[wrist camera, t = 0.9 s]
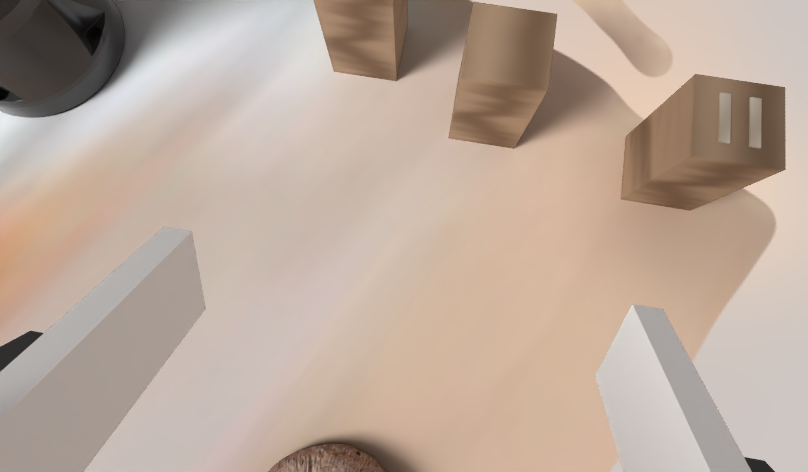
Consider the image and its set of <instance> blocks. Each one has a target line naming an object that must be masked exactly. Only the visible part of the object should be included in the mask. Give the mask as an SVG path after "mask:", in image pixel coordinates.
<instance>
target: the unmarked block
mask: <svg viewBox="0 0 808 472" xmlns="http://www.w3.org/2000/svg"><path fill="white" fill-rule="evenodd" d="M556 21H557V14H553V13H547V12H540V11H533V10H526V9H519V8H512V7H505V6H498V5H492V4H485V3H478V2H474V3H473V8H472V13H471V18H470V23H469V28H468V33H467V38H466V43H465V48H464V53H463V58H462V63H461V68H460V73H459V78H458V84H457V90H456V96H455V102H454V108H453V114H452V120H451V126H450V132H449V138H451V139H457V140H463V141H470V142H476V143H482V144H489V145H495V146H501V147H507V148H515V146H516V144H517V143H518V141H519V139H520V138H521V136H522V134H523V132H524V131H525V129H526V127H527V125H528V124H529V122H530V120H531V119H532V117H533V115H534V113H535V112H536V110H537V108H538V107H539V105H540V103H541V101H542V100H543V98H544V96H545V94H546V93H547V91H548V88H549V80H550V72H551V63H552V55H553V46H554V37H555V29H556Z"/></svg>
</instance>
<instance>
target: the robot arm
mask: <svg viewBox="0 0 808 472" xmlns="http://www.w3.org/2000/svg"><path fill="white" fill-rule="evenodd" d="M123 45H124V26H123V21H122V17H121V15H120V12H119V10H118V8H117V7H116V5H115V3H114V2H113V1H112V0H0V111H1V112H4V113H7V114H10V115H14V116H20V117H43V116H49V115H53V114H57V113H60V112H63V111H66V110H68V109H71V108H73V107H75V106H77V105H79V104H80V103H82V102H84V101H85V100H87V99H88V98H89V97H91V96H92V95H93V94H94V93H96V92H97V91H98V90H99V89H100V88H101V87H102V86H103V85H104V84H105V82H106V81H107V80H108V79H109V77H110V76H111V75H112V73H113V71H114V70H115V68H116V66H117V64H118V62H119V59H120V57H121V54H122V50H123ZM205 309H206V308H205V302H204V297H203V291H202V285H201V280H200V274H199V269H198V263H197V258H196V252H195V247H194V241H193V235H192V231H187V230H181V229H175V228H169V227H163V228H162V229H161V230H160V231H159V232H158V233H156V234H155V235H154V236H153V237H152V238H151V239H150V240H149V241H147V242H146V243H145V244H144V245H143V246H142V247H141V248H139V249H138V250H137V251H136V252H135V253H134V254H133V255H132V256H130V257H129V258H128V259H127V260H126V261H125V262H124V263H123V264H121V265H120V266H119V267H118V268H117V269H116V270H115V271H114V272H112V273H111V274H110V275H109V276H108V277H107V278H106V279H105V280H103V281H102V282H101V283H100V284H99V285H98V286H97V287H95V288H94V289H93V290H92V291H91V292H90V293H89V294H88V295H86V296H85V297H84V298H83V299H82V300H81V301H80V302H79V303H77V304H76V305H75V306H74V307H73V308H72V309H71V310H70V311H68V312H67V313H66V314H65V315H64V316H63V317H62V318H61V319H59V320H58V321H57V322H56V323H55V324H54V325H53V326H51V327H50V328H49V329H48V330H47V331H46V332H45V333H40V332H34V331H29V332H27V333H26V334H24V335H22V336H20V337H18V338H16V339H14V340H12V341H10V342H9V343H7V344H5V345H3V346H1V347H0V472H84V470H85V469H86V468H87V466H88V465H89V464H90V462H91V461H92V460H93V458H94V457H95V456H96V454H97V453H98V452H99V450H100V449H101V448H102V446H103V445H104V444H105V442H106V441H107V440H108V438H109V437H110V436H111V434H112V433H113V432H114V430H115V429H116V428H117V426H118V425H119V424H120V422H121V421H122V420H123V418H124V417H125V416H126V414H127V413H128V412H129V410H130V409H131V408H132V406H133V405H134V404H135V402H136V401H137V400H138V398H139V397H140V395H141V394H142V393H143V391H144V390H145V389H146V387H147V386H148V385H149V383H150V382H151V381H152V379H153V378H154V377H155V375H156V374H157V373H158V371H159V370H160V369H161V367H162V366H163V365H164V363H165V362H166V361H167V359H168V358H169V357H170V355H171V354H172V353H173V351H174V350H175V349H176V347H177V346H178V345H179V343H180V342H181V341H182V339H183V338H184V337H185V335H186V334H187V333H188V331H189V330H190V329H191V327H192V326H193V325H194V323H195V322H196V321H197V319H198V318H199V317H200V315H201V314H202V313H203V311H204V310H205ZM595 377H596V381H597V384H598V388H599V391H600V394H601V398H602V401H603V404H604V408H605V411H606V414H607V418H608V421H609V424H610V428H611V431H612V435H613V438H614V441H615V445H616V448H617V451H618V455H619V458H620V461H621V464H622V468H623V471H624V472H775V471H774V470H773V469H772V468H771V467H770V466H769V465H768V464H767V463H766V462H765V461H762V460H757V459H751V458H746V457H743V455H742V453H741V451H740V449H739V447H738V445H737V444H736V442H735V440H734V438H733V437H732V434H731V433H730V431H729V429H728V427H727V425H726V423H725V422H724V420H723V418H722V416H721V414H720V413H719V411H718V409H717V407H716V405H715V403H714V402H713V400H712V398H711V396H710V394H709V393H708V391H707V389H706V387H705V385H704V383H703V381H702V380H701V378H700V376H699V374H698V372H697V370H696V369H695V367H694V365H693V363H692V361H691V359H690V358H689V356H688V354H687V352H686V350H685V348H684V347H683V345H682V343H681V341H680V339H679V337H678V336H677V334H676V332H675V330H674V328H673V326H672V325H671V323H670V321H669V319H668V317H667V315H666V314H665V312H664V310H663V309H658V308H652V307H646V306H640V305H634V304H632V306H631V308H630V310H629V312H628V314H627V316H626V318H625V320H624V321H623V323H622V325H621V327H620V329H619V331H618V333H617V335H616V337H615V339H614V341H613V343H612V345H611V346H610V348H609V350H608V352H607V354H606V356H605V358H604V360H603V362H602V364H601V366H600V368H599V369H598V371H597V373H596V375H595Z"/></svg>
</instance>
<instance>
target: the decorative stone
mask: <svg viewBox="0 0 808 472" xmlns="http://www.w3.org/2000/svg"><path fill="white" fill-rule="evenodd" d="M269 472H386V471H385V470H384V468H383V467H382V466H381V465H380V464H379V463H378V461H377V460H376V459H375V458H373V457H372V456H371V455H369V454H368V453H366V452H364V451H361V450H358V449H357V448H355V447H353V446H351V445H347V444H323V445H320V446H312V447H308V448H305V449H302V450H299V451H297V452H295V453H293V454H291V455H289V456H287V457H285V458H284V459H282V460H281V461H279V462H278V463H277V464H276V465H274V466H273V467H272V468H271V469H270V471H269Z"/></svg>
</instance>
